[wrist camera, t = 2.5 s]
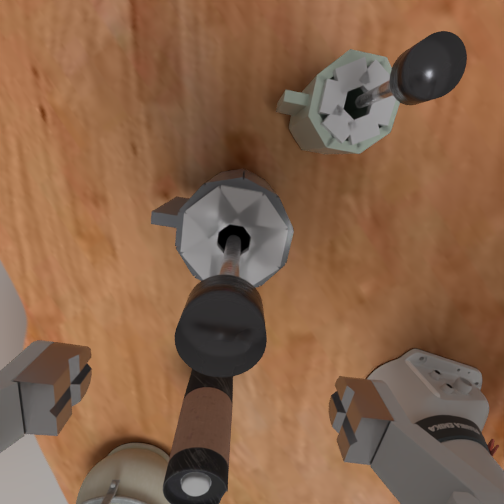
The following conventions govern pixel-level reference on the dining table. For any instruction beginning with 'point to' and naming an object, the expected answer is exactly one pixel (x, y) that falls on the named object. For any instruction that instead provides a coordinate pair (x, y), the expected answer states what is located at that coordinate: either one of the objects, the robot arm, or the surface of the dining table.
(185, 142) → the dining table surface
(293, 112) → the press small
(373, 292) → the dining table surface
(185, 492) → the travel mug
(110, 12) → the dining table surface
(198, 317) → the plunger
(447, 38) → the plunger small
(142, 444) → the kettle
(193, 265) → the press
